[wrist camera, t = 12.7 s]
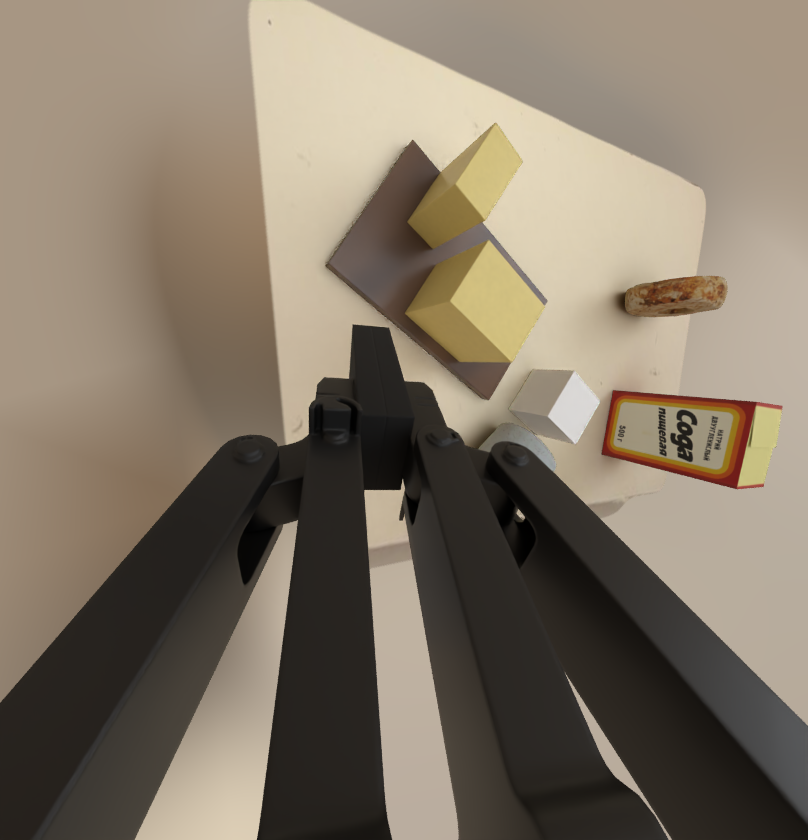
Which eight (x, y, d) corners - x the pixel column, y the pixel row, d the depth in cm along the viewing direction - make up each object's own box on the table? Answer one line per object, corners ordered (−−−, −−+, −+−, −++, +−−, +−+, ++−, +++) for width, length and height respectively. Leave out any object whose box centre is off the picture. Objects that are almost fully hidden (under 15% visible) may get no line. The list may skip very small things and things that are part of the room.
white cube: (535, 434, 45) (575, 444, 40) (508, 409, 43) (547, 416, 37) (558, 396, 46) (601, 401, 41) (532, 368, 43) (574, 370, 38)
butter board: (325, 266, 31) (328, 263, 30) (407, 145, 32) (412, 139, 31) (483, 399, 41) (489, 400, 40) (541, 301, 42) (547, 300, 41)
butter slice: (406, 222, 32) (455, 183, 25) (439, 172, 33) (496, 121, 26) (433, 249, 34) (485, 220, 27) (464, 201, 35) (523, 161, 28)
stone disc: (608, 313, 48) (693, 303, 39) (612, 285, 47) (699, 267, 38) (653, 321, 52) (739, 314, 43) (657, 295, 52) (745, 282, 43)
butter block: (404, 313, 34) (449, 301, 27) (436, 263, 34) (489, 239, 27) (459, 362, 37) (512, 362, 30) (487, 316, 38) (545, 306, 31)
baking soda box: (628, 454, 55) (767, 487, 40) (601, 454, 52) (741, 490, 37) (640, 393, 53) (787, 406, 39) (613, 390, 51) (761, 402, 36)
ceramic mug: (444, 466, 40) (488, 489, 33) (490, 416, 41) (541, 428, 35) (488, 520, 44) (535, 550, 37) (528, 473, 46) (580, 493, 39)
